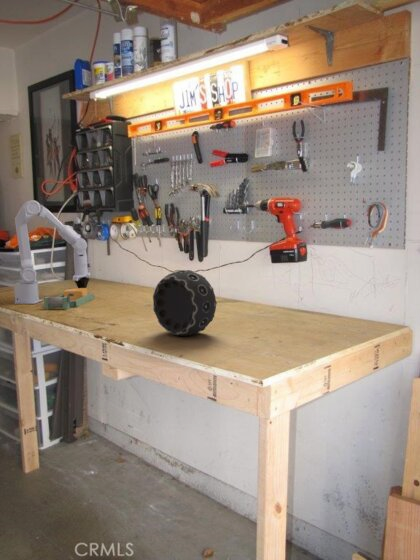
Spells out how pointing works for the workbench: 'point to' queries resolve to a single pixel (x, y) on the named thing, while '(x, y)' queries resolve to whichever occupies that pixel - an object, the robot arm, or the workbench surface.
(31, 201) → the robot arm
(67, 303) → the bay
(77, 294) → the orange square block
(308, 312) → the workbench surface
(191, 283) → the dark studded ball
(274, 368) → the workbench surface
